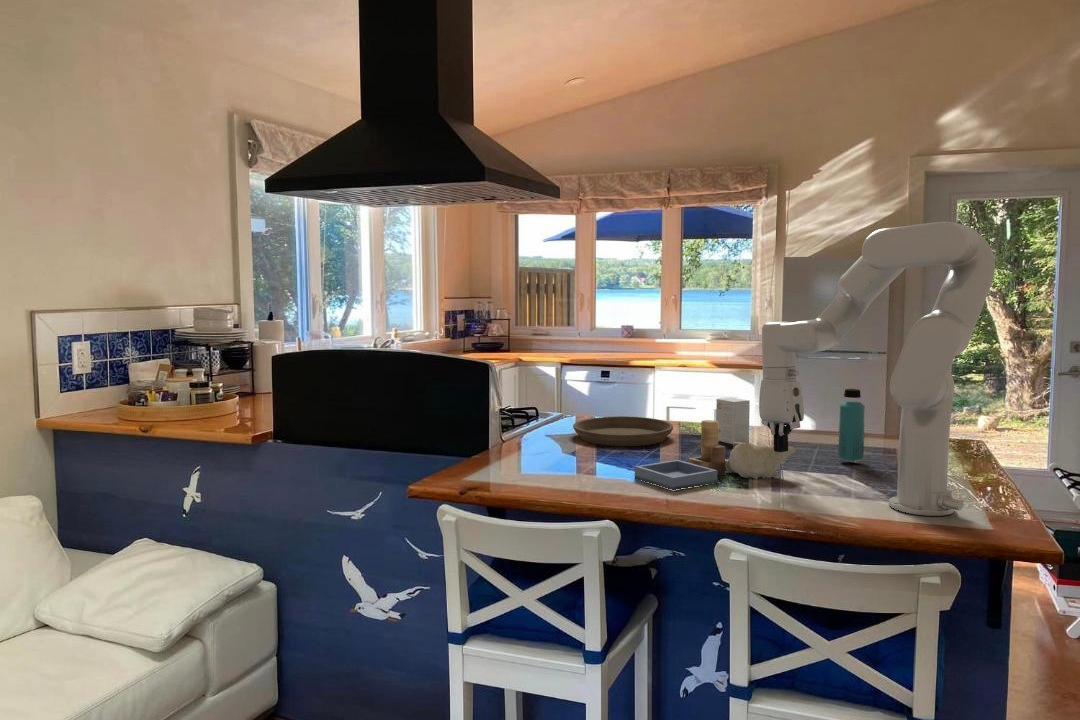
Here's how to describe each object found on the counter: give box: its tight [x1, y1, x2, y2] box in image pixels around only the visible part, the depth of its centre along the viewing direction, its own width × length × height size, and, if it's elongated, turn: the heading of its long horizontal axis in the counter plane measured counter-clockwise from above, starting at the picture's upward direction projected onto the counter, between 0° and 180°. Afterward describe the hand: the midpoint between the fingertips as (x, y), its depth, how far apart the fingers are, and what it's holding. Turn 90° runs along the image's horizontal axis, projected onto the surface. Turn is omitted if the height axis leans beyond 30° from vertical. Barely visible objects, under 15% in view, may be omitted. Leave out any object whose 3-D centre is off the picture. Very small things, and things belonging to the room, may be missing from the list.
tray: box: [634, 459, 718, 490], centre depth 195 cm, size 14×14×3 cm
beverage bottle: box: [837, 388, 865, 461], centre depth 214 cm, size 6×7×20 cm
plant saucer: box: [572, 415, 674, 447], centre depth 251 cm, size 31×31×5 cm
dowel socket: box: [688, 456, 729, 468], centre depth 210 cm, size 8×8×2 cm
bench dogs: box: [710, 442, 745, 476], centre depth 204 cm, size 4×12×7 cm, turn 122°
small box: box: [715, 397, 751, 445], centre depth 244 cm, size 8×6×13 cm
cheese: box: [725, 442, 797, 480], centre depth 199 cm, size 15×7×15 cm
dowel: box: [700, 419, 719, 463], centre depth 210 cm, size 4×4×12 cm
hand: (781, 451), depth 190 cm, fingers closed
